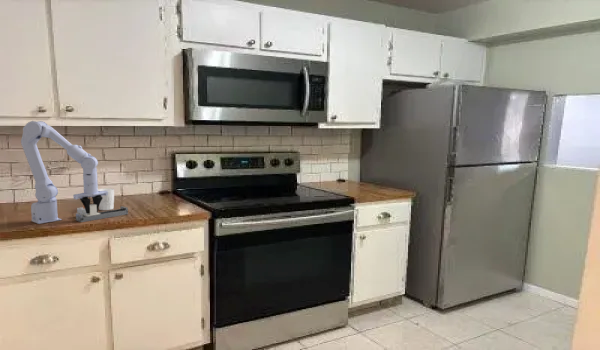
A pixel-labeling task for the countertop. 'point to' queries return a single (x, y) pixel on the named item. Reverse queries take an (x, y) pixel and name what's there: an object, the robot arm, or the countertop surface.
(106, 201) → the white cup
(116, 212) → the rail
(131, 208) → the countertop surface
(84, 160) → the robot arm
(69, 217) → the countertop surface
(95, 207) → the carriage
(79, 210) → the white hollow block
